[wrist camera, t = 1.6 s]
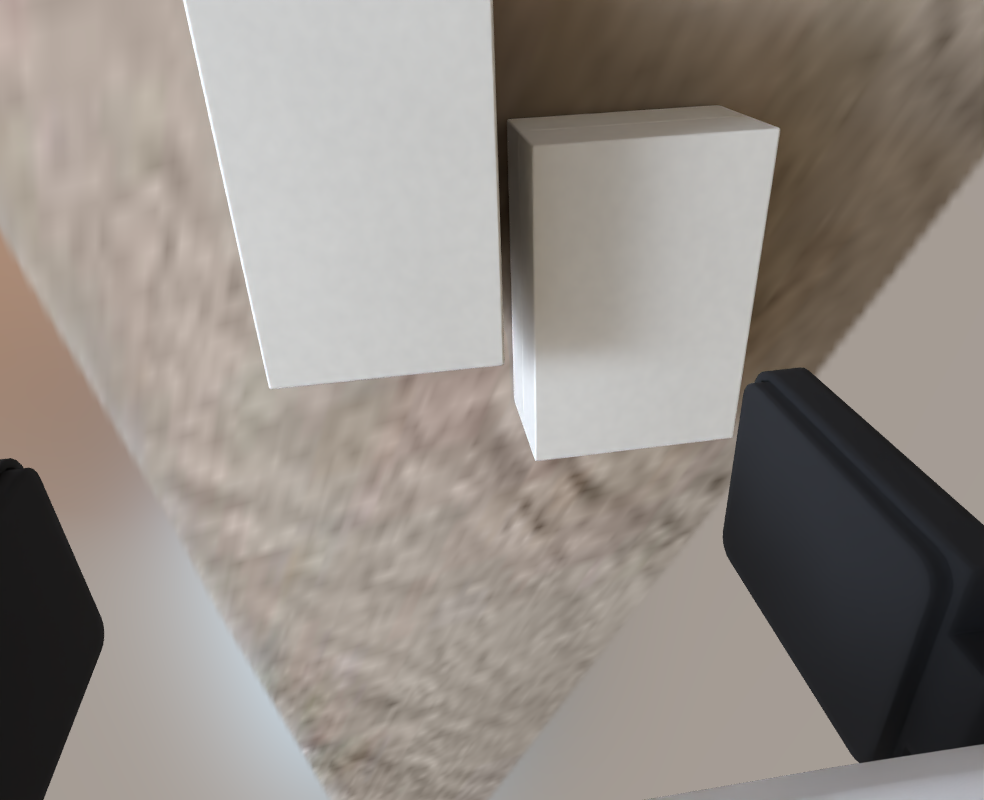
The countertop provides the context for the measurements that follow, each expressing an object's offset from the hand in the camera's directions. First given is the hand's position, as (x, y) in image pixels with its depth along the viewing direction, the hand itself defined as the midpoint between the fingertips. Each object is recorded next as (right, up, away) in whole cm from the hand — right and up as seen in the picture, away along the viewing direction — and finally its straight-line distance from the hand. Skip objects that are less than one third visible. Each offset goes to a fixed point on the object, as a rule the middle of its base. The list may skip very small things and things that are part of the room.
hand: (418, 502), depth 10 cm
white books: (+5, +6, +18) cm, 20 cm away
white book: (-3, +8, +11) cm, 14 cm away
